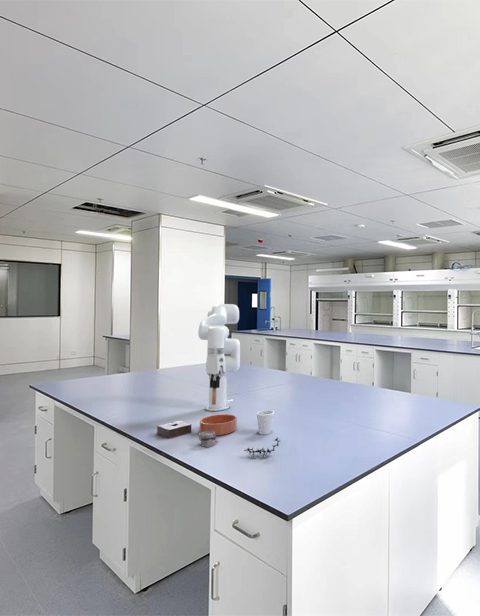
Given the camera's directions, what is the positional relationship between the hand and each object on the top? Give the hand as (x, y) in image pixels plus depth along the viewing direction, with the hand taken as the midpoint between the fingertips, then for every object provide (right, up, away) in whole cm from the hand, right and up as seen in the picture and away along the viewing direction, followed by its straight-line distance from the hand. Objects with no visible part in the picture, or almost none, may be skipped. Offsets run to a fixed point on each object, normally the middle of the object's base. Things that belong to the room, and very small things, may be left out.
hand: (214, 387), depth 189 cm
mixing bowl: (+3, -21, -2) cm, 22 cm away
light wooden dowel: (0, -9, 0) cm, 9 cm away
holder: (-16, -21, -7) cm, 27 cm away
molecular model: (+35, -23, -31) cm, 52 cm away
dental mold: (+6, -22, -19) cm, 30 cm away
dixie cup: (+26, -22, -2) cm, 34 cm away
